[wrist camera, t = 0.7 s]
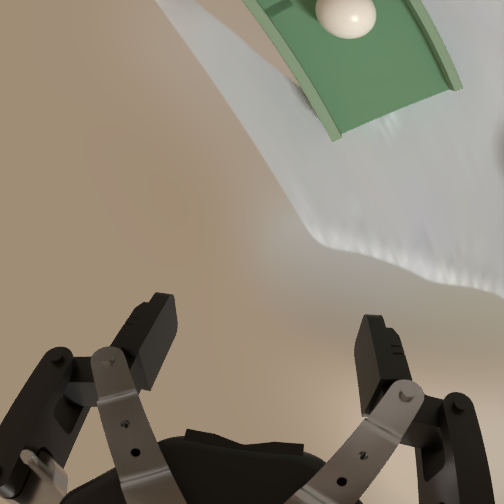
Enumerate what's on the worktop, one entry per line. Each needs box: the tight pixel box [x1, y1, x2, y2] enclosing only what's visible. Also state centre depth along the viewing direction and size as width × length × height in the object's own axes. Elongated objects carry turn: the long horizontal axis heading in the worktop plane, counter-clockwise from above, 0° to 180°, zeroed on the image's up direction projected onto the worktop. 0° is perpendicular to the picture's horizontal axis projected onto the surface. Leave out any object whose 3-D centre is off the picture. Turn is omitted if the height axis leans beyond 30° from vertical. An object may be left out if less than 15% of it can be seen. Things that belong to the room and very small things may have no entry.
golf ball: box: [315, 0, 376, 39], centre depth 20 cm, size 5×5×5 cm
